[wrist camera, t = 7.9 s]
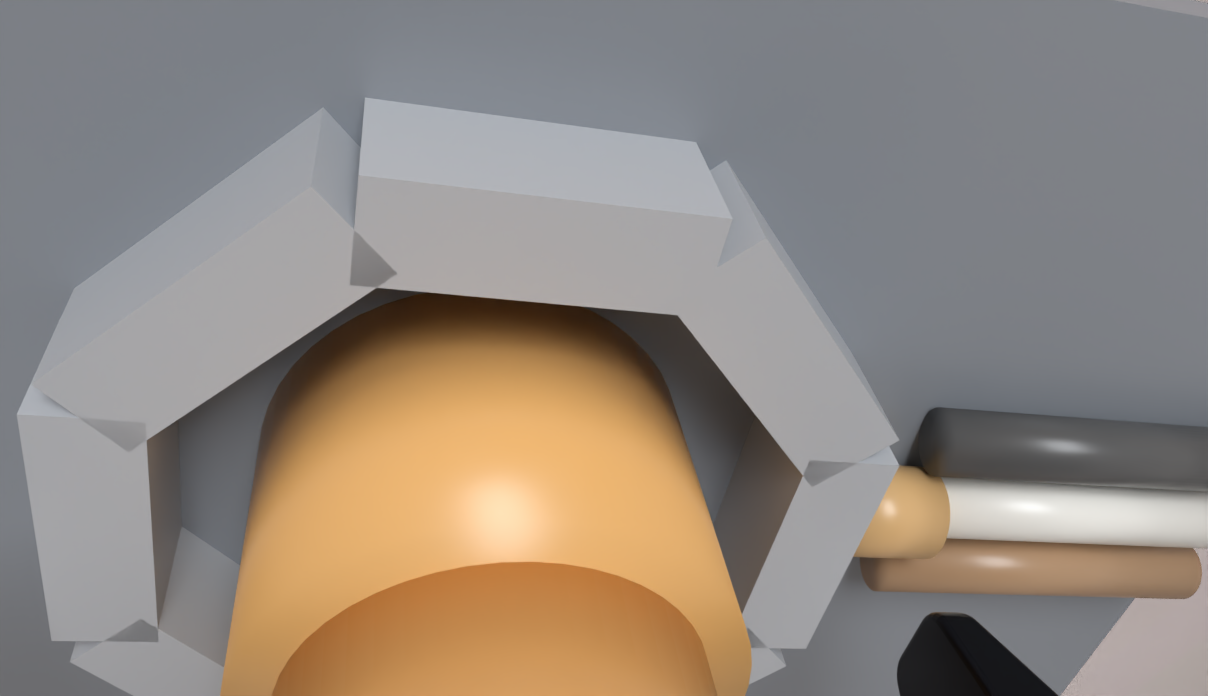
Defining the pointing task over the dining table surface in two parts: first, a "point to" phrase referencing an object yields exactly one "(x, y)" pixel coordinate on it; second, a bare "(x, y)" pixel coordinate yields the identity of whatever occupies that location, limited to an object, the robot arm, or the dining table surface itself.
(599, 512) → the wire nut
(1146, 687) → the dining table surface
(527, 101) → the junction socket
